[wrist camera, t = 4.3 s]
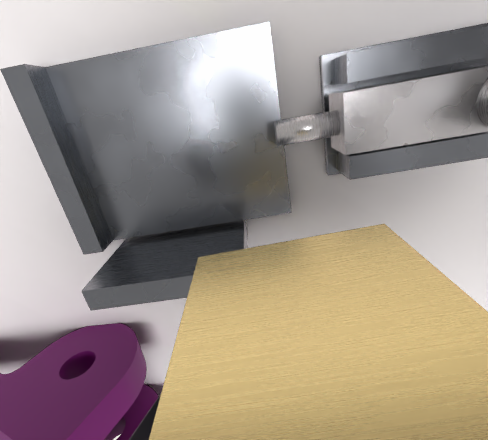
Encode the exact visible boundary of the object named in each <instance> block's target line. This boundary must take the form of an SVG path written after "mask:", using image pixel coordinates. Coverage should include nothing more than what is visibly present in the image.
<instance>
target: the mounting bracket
mask: <svg viewBox="0 0 488 440" xmlns="http://www.w3.org/2000/svg"><path fill="white" fill-rule="evenodd" d="M145 377H146V362H145V359H144V356H143V353H142V351H141V348H140V345H139V342H138V340H137V337H136V335H135V333H134V331H133V330H132V329H131V328H130V327H128V326H126V325H124V324H121V323H116V324H106V325H96V326H86V327H83V328H80V329H78V330H75V331H73V332H71V333H69V334H67V335H65V336H63V337H62V338H60V339H58V340H57V341H55V342H53V343H52V344H50V345H49V346H48V347H46V348H45V349H44V350H42V351H41V352H40V353H38V354H37V355H36V356H35V357H33V358H32V359H31V360H29V361H28V362H27V363H26V364H24V365H23V366H22V367H20V368H19V369H18V370H16V371H14V372H12V373H9V374H1V373H0V440H113V439H114V438H115V437H116V436H118V435H120V434H121V435H120V436H119V438H118V439H117V440H129V439H130V437H131V436H132V434H133V433H134V432H135V430H136V429H137V427H138V426H139V424H140V423H141V421H142V420H143V419H144V417H145V416H146V414H147V413H148V411H149V410H150V408H151V407H152V406H153V404H154V403H155V401H156V400H157V398H158V395H157V393H156V392H155V391H154V390H153V389H152V388H151V387H149V386H147V385H145V384H144V381H145Z"/></svg>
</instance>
